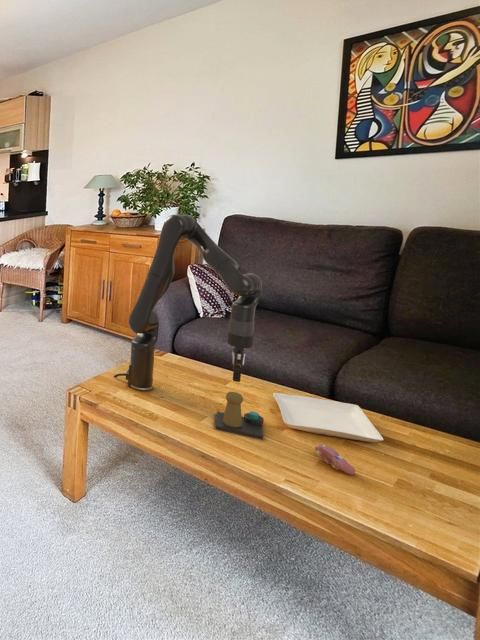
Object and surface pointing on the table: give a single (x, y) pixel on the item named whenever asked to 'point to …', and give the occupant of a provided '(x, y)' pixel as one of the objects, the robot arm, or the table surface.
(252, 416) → the button
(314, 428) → the square plate
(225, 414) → the cork
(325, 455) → the pink tapered lump
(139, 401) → the table surface
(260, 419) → the scale
